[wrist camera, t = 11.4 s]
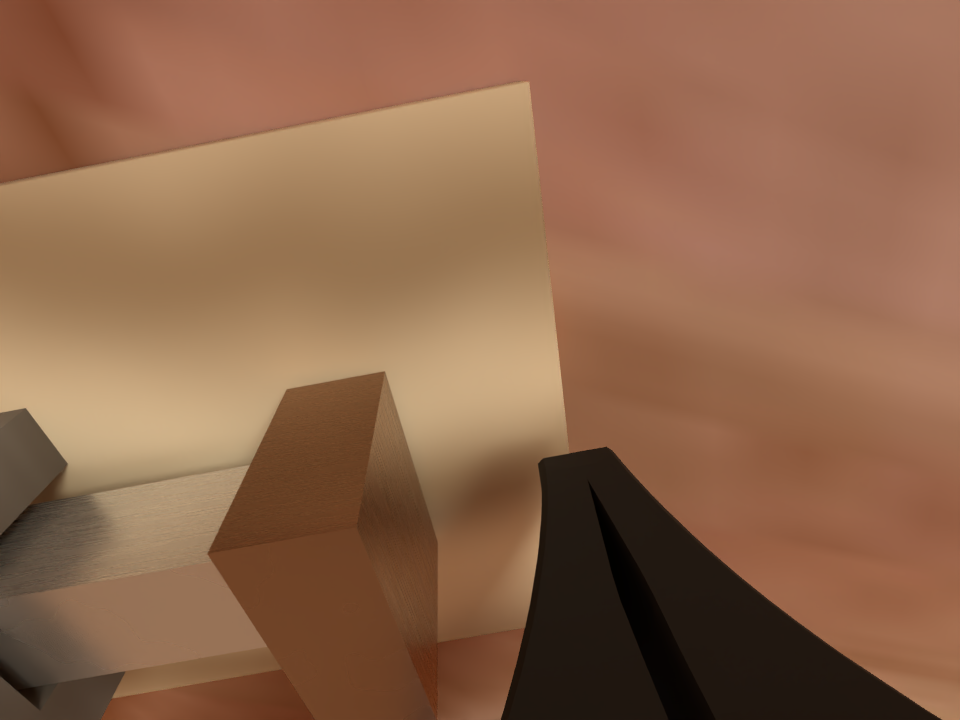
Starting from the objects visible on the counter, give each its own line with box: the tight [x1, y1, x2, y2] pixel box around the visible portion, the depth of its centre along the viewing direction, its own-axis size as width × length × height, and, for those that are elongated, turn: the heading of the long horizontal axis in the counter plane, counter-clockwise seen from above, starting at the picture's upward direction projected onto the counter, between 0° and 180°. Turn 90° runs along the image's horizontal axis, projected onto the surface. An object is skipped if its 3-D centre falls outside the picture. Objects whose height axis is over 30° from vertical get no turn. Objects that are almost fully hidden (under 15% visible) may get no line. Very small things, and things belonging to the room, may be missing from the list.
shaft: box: [0, 371, 438, 720], centre depth 10 cm, size 5×9×4 cm, turn 100°
